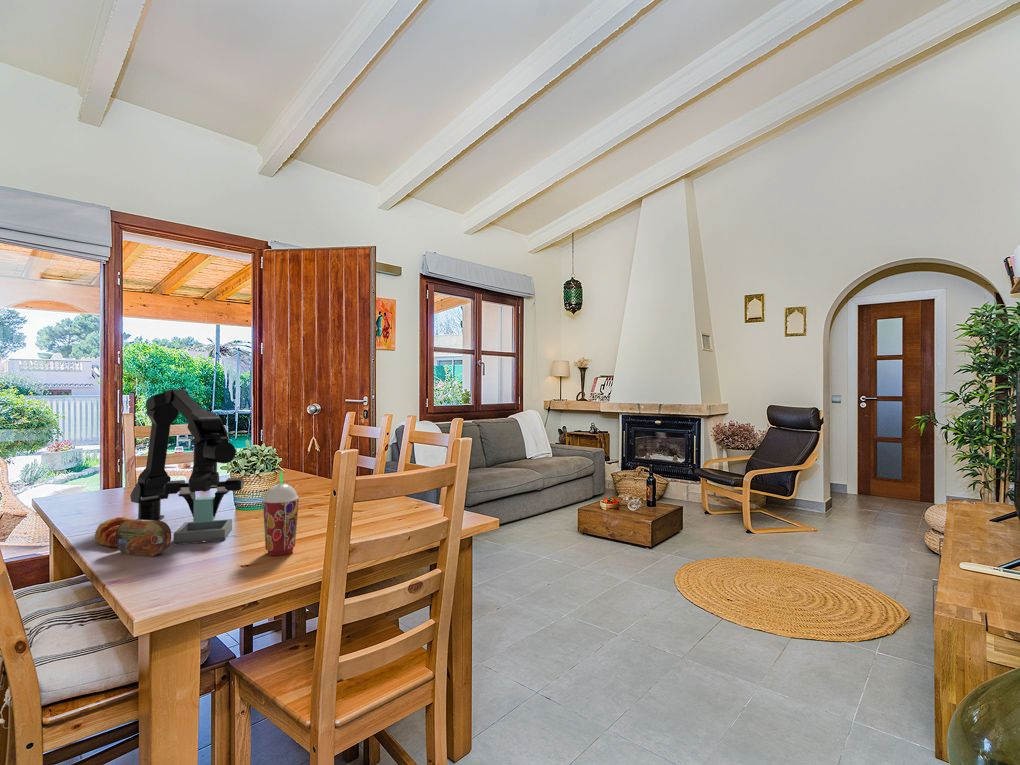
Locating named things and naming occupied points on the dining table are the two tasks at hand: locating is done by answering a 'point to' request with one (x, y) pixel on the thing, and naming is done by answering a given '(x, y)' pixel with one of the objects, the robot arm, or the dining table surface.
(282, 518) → the smoothie
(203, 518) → the block
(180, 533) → the bin
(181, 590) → the dining table surface
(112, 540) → the croissant
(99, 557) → the dining table surface
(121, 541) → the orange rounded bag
